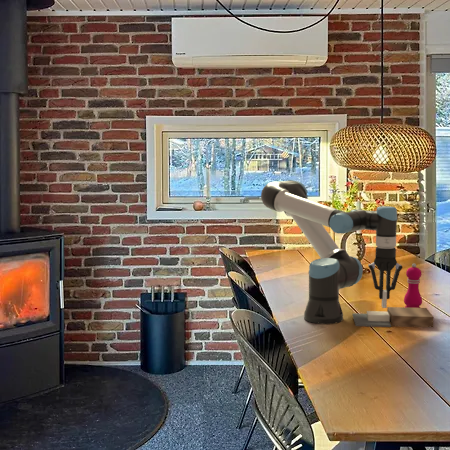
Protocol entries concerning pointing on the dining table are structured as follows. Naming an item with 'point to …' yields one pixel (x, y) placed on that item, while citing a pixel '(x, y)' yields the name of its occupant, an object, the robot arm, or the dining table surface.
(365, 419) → the dining table surface
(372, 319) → the ceramic tile
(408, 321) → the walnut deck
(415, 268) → the pepper mill
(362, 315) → the charcoal mat
